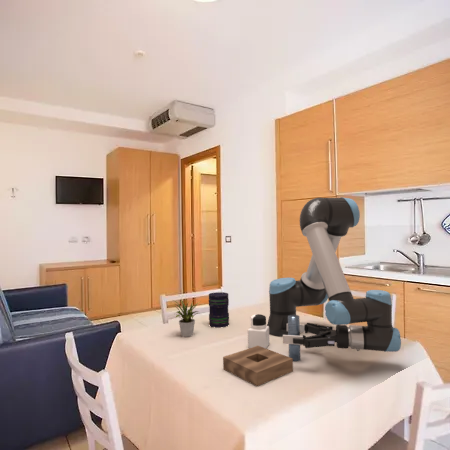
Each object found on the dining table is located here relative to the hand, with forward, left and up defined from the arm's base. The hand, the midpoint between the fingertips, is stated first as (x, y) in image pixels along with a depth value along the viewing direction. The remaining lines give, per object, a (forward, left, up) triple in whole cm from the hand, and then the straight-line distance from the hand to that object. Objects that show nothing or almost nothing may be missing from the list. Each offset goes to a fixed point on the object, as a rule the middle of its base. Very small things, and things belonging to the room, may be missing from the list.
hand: (284, 332), depth 116 cm
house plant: (-47, -13, -9) cm, 50 cm away
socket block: (+1, -14, -9) cm, 17 cm away
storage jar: (-49, +8, -9) cm, 51 cm away
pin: (+3, +2, -9) cm, 10 cm away
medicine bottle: (-15, +2, -9) cm, 18 cm away
